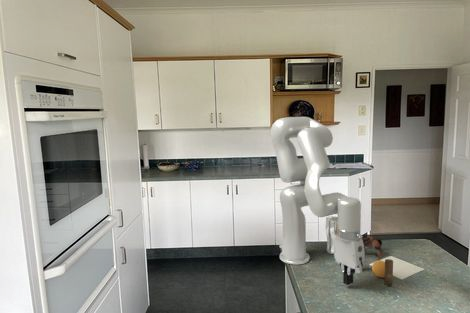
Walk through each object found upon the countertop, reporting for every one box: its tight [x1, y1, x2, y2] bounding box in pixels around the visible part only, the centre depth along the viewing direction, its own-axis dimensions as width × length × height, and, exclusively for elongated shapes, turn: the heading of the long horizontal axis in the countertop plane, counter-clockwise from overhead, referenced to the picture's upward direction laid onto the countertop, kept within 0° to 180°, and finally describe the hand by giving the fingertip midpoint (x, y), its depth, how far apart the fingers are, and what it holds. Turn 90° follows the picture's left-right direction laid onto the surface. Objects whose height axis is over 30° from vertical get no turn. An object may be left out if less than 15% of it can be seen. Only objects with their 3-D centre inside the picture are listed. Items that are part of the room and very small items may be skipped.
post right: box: [383, 259, 394, 288], centre depth 113 cm, size 3×3×9 cm
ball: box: [371, 260, 385, 278], centre depth 119 cm, size 6×6×6 cm
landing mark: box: [368, 255, 425, 280], centre depth 126 cm, size 14×14×1 cm
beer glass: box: [325, 215, 338, 255], centre depth 142 cm, size 7×7×15 cm
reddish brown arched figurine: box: [361, 236, 384, 259], centre depth 140 cm, size 12×10×8 cm
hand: (348, 283), depth 113 cm, fingers closed
